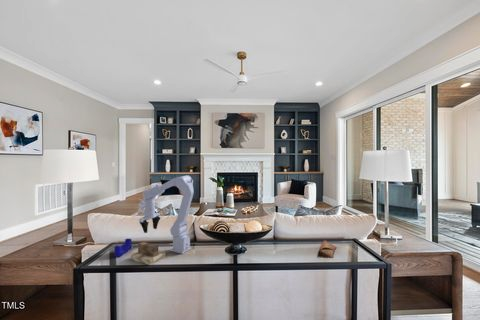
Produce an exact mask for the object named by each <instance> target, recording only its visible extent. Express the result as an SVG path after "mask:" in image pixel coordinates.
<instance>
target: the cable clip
mask: <svg viewBox="0 0 480 320" xmlns="http://www.w3.org/2000/svg"><path fill="white" fill-rule="evenodd" d="M131 249H132V238H125V240H124V243H123V244H121V245H115V246H114V258H121V257H122V256H124V255H125V254H126V253H127V252H129V251H130V250H131Z"/></svg>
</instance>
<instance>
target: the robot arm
mask: <svg viewBox="0 0 480 320" xmlns="http://www.w3.org/2000/svg"><path fill="white" fill-rule="evenodd" d="M193 184H194V180H193V178H192V177H191V176H190V175H188V174H186V175H182V176H176V177H174V178H172V179H170V180H168V181H166V182H164V183H163V184H161V183H155V185H154V186H153V187H149V189H144V191H143V192H142V198H143V199H144V215H143V216H142V217H140V218H139V224H140V226H141V228H142V230H143V233H144V234H147V233H148V226H149V220H151V221H152V228H153V230H157V228H158V224H159V223H160V222H159V221H160V220H161V213H160V212H157V213H156V209H155V208H156V205H155V204H156V202H155V201H156V198H157V196H159V195H162V194H163V193H165V191H166V190H167V189H169V188H171V187H176V188H178V189H179V191H181V192H182V194H183V195H182V198H181V203H180V206H179V209H178V212H177V214H178V215H177V217H176V218H175V221H174V222H173V225H172V226H171V228H170V230H169V231H170V234H171V236H172V247H173V248H170V249H169V251H170V252H174V253H178V254H181V255H182V254H185V253H187V252H188V251H189V250H191V249H192V248H191V238H190V236H188V235H187V230H188V227H189V226H188V220H187V219H188V214H189V211H190V208H191V203H192V201H193V197H194V192H195V191H194V185H193Z"/></svg>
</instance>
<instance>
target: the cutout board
mask: <svg viewBox="0 0 480 320" xmlns="http://www.w3.org/2000/svg"><path fill="white" fill-rule="evenodd" d="M158 253H159V255H157V256H155V257H153V256H149V255H146V254H142V253H138V251H136V252H134V253H132V254H131V255H130V260H131V261H135V262H138V263H141V264H146V265H148V266H151V265H153V264H155V263H157V262H158V261H160V260H162V259H164V258H166V257H167V256H166V251H162V250H159V249H158Z"/></svg>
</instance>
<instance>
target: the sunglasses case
mask: <svg viewBox="0 0 480 320" xmlns="http://www.w3.org/2000/svg"><path fill="white" fill-rule="evenodd" d="M336 249H337V246H336V245H334V244H332V243H330V242H328V241H327V240H325V239H324V240H323V241H322V242H321V244H320V246H319V249H318V252H317V255H318V257H323V258H328V259H334V255H335V251H336Z"/></svg>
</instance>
